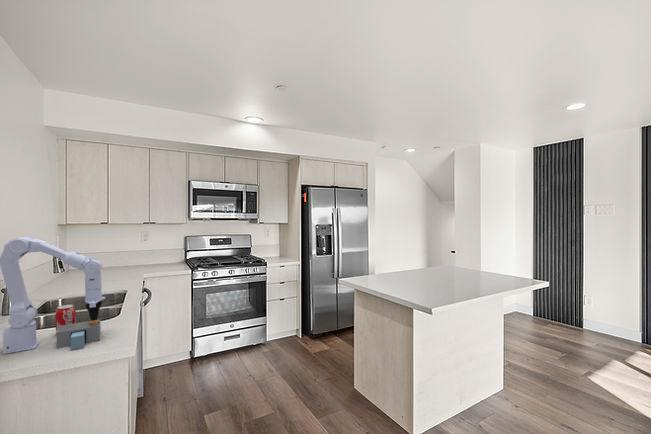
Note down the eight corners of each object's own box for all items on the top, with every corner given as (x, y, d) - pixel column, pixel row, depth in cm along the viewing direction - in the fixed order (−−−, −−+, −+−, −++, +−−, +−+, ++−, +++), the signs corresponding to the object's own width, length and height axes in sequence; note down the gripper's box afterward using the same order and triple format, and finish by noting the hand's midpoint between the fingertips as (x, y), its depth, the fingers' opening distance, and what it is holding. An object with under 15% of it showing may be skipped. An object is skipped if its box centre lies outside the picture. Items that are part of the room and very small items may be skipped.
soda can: (58, 337, 141) (57, 309, 140) (53, 333, 145) (52, 306, 144) (78, 332, 146) (77, 305, 146) (73, 329, 150) (72, 303, 150)
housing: (56, 348, 130) (56, 332, 130) (60, 340, 138) (59, 325, 138) (99, 340, 138) (99, 325, 137) (100, 333, 145) (100, 319, 145)
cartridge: (71, 350, 128) (70, 337, 128) (74, 338, 139) (74, 327, 139) (83, 347, 130) (83, 335, 130) (86, 336, 141) (86, 325, 141)
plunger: (89, 333, 139) (89, 322, 138) (90, 330, 141) (90, 320, 141) (98, 331, 140) (98, 321, 140) (98, 329, 143) (98, 319, 143)
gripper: (104, 290, 136) (104, 323, 137) (105, 283, 148) (106, 313, 149) (82, 293, 132) (83, 326, 133) (86, 285, 145) (86, 316, 145)
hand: (94, 319), depth 141 cm, fingers closed
